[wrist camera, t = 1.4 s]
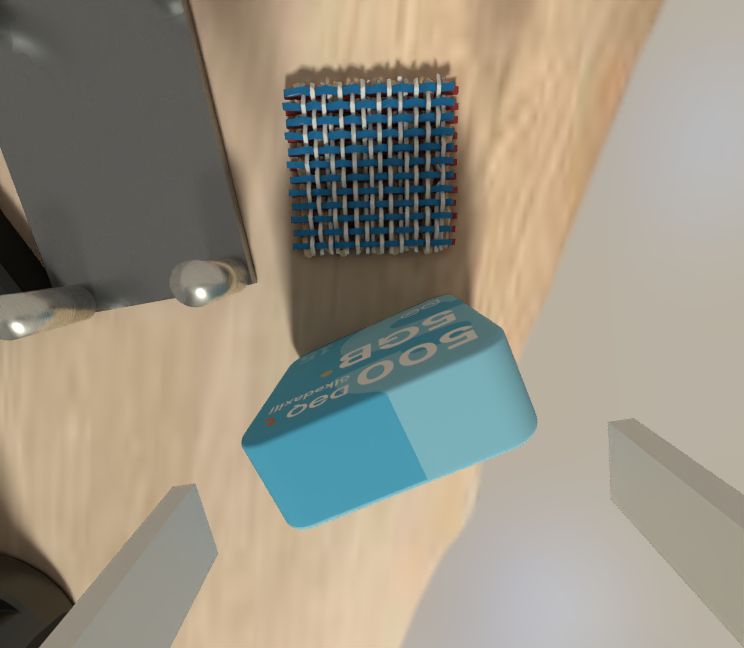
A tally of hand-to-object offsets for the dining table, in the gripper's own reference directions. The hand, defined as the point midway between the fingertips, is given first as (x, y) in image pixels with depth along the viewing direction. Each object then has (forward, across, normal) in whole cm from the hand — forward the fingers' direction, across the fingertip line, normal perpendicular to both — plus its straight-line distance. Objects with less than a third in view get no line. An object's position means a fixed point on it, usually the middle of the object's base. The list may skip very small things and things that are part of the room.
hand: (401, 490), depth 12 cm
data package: (+15, 0, 0) cm, 15 cm away
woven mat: (+15, +1, +12) cm, 19 cm away
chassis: (+14, -14, +16) cm, 26 cm away
